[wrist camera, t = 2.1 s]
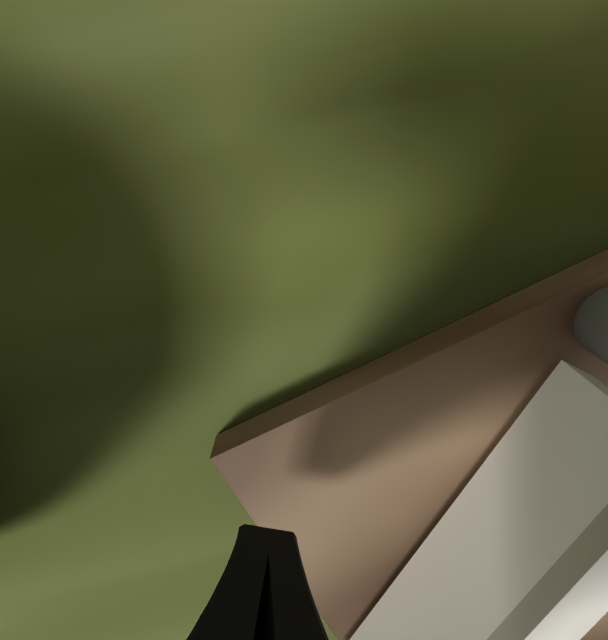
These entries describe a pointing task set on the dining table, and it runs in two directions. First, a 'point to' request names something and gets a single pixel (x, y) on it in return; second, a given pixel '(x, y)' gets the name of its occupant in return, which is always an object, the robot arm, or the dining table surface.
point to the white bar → (520, 524)
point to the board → (402, 440)
